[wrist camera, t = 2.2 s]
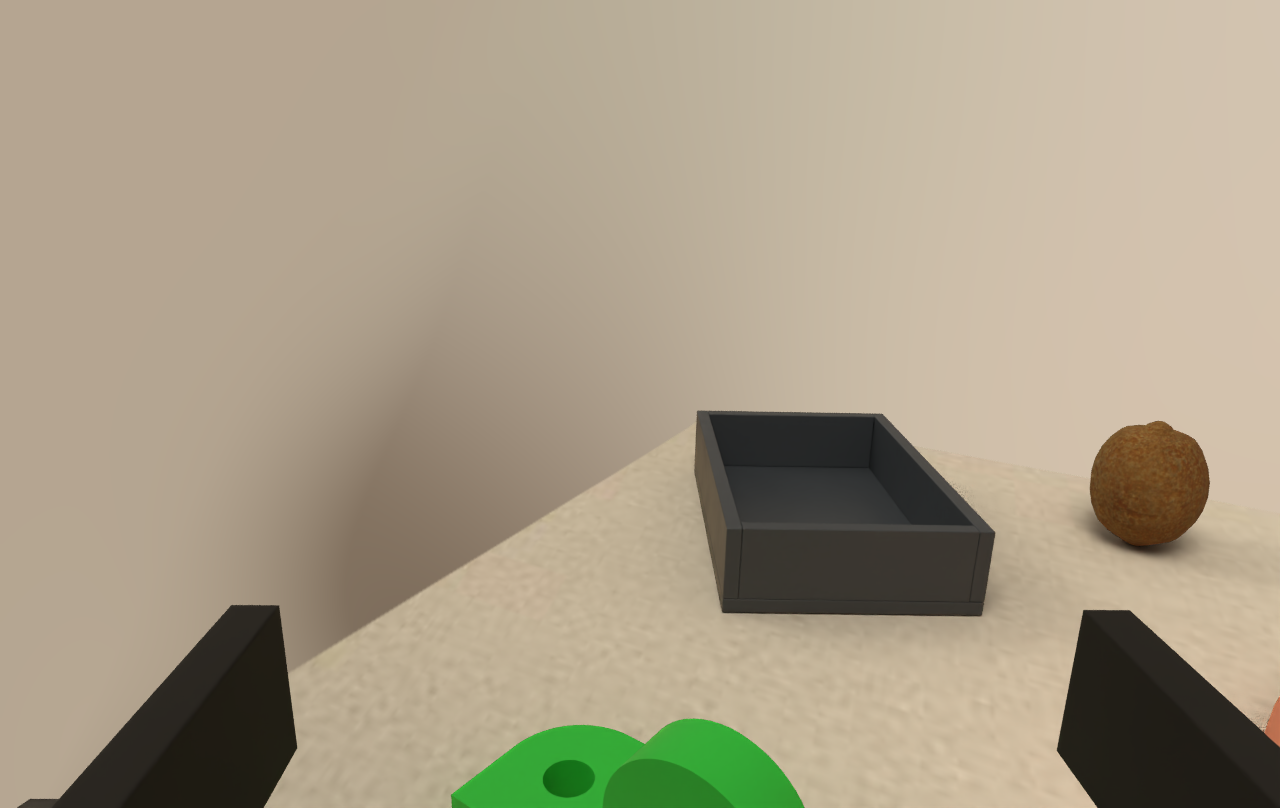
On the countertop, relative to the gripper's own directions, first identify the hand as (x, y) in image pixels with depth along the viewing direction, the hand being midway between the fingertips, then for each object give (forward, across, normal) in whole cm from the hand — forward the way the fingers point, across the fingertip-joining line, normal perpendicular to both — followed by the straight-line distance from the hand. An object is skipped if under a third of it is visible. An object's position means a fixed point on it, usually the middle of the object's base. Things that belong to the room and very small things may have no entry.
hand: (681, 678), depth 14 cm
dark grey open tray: (+36, +11, -14) cm, 40 cm away
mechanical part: (+10, 0, -15) cm, 18 cm away
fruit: (+35, +31, -15) cm, 49 cm away
